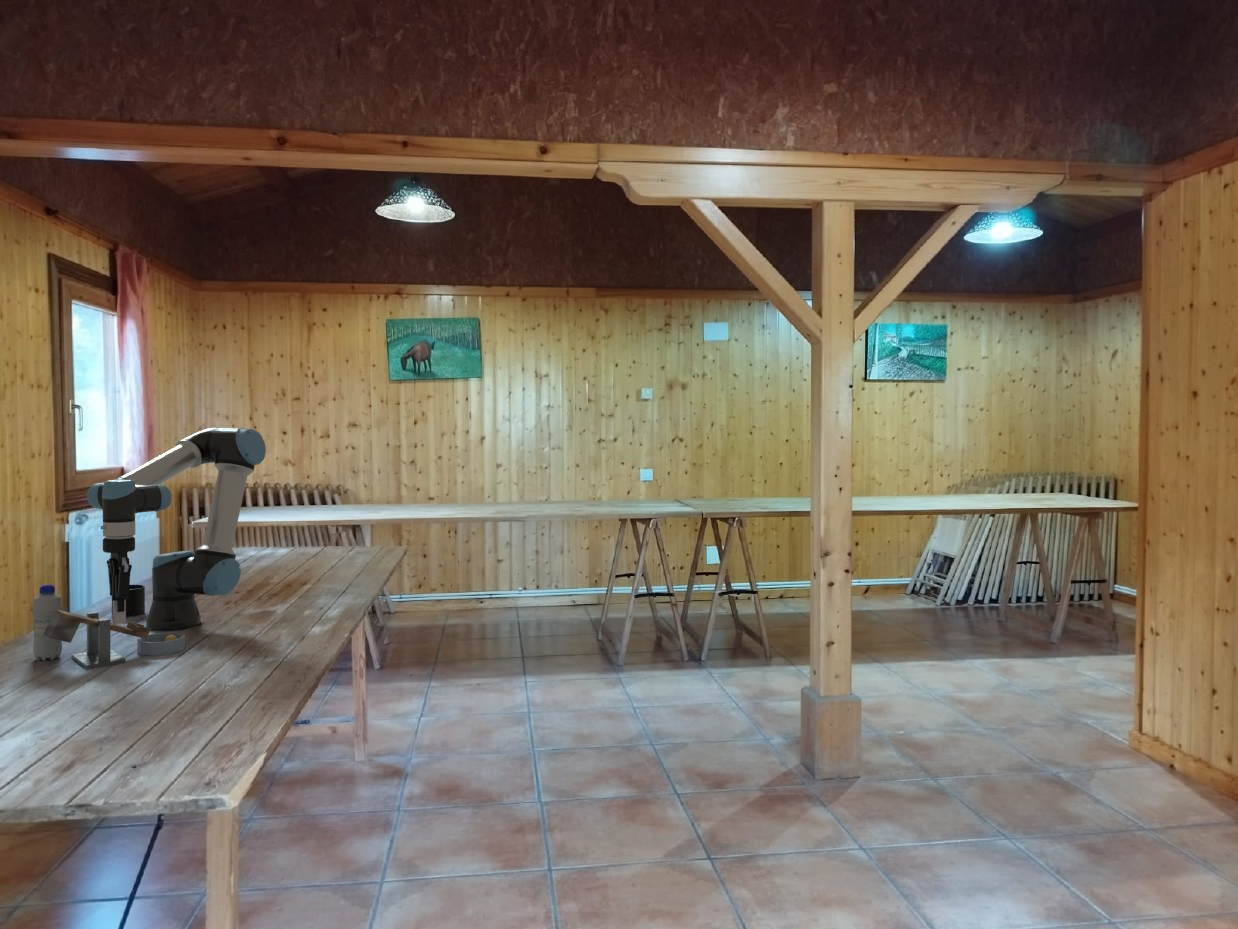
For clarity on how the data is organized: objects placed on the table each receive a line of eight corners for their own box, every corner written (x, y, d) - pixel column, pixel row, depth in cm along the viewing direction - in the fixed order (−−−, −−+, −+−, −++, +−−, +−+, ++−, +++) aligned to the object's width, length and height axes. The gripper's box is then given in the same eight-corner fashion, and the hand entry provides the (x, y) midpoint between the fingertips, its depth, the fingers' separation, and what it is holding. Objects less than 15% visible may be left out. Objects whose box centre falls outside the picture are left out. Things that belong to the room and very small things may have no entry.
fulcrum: (86, 669, 209) (86, 623, 209) (71, 658, 219) (71, 614, 218) (125, 662, 216) (125, 618, 215) (109, 652, 225) (109, 609, 225)
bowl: (146, 657, 221) (146, 645, 220) (132, 649, 228) (132, 637, 228) (190, 650, 229) (190, 638, 229) (176, 642, 237) (176, 630, 237)
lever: (50, 638, 206) (66, 607, 208) (42, 632, 211) (57, 602, 213) (138, 658, 221) (152, 629, 223) (129, 652, 226) (142, 624, 228)
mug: (150, 608, 278) (150, 582, 278) (140, 616, 266) (140, 589, 266) (119, 610, 275) (119, 583, 275) (107, 618, 264) (107, 590, 263)
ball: (175, 640, 233) (167, 633, 231) (182, 639, 232) (174, 632, 230) (168, 649, 231) (159, 642, 229) (175, 648, 229) (166, 641, 228)
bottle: (27, 662, 214) (27, 587, 213) (38, 655, 220) (38, 582, 219) (57, 661, 215) (56, 586, 215) (66, 654, 222) (66, 582, 221)
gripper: (96, 535, 221) (96, 621, 222) (110, 540, 212) (110, 629, 213) (126, 533, 227) (127, 616, 228) (142, 538, 218) (142, 625, 219)
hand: (119, 623), depth 221 cm, fingers closed
